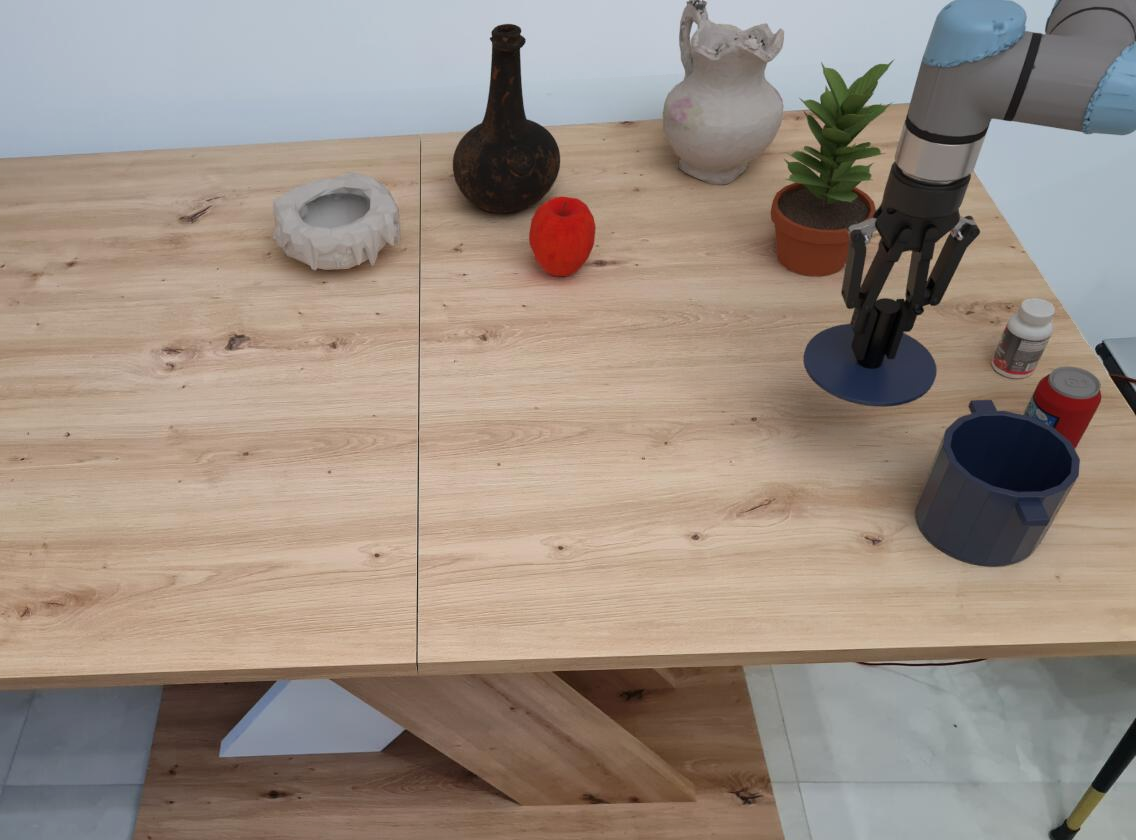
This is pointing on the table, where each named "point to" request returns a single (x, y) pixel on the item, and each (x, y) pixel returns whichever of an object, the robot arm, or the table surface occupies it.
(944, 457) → the pot
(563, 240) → the apple
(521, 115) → the glass bottle
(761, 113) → the ceramic pitcher
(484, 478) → the table surface
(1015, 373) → the pill bottle
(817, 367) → the lid
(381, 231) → the bowl
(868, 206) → the potted plant
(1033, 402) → the beverage can
